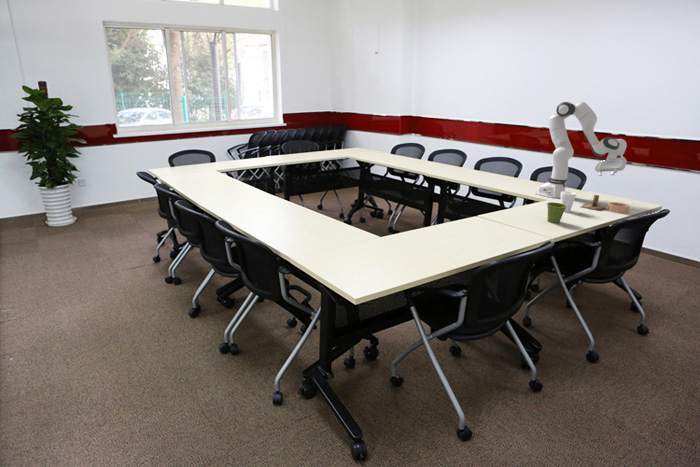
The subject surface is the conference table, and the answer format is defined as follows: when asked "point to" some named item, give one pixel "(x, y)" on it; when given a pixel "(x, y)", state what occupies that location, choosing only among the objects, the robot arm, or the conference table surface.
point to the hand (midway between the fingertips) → (605, 175)
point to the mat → (591, 209)
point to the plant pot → (555, 211)
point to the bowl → (617, 207)
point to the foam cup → (567, 199)
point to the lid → (594, 204)
